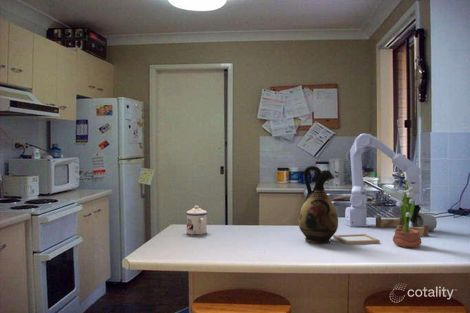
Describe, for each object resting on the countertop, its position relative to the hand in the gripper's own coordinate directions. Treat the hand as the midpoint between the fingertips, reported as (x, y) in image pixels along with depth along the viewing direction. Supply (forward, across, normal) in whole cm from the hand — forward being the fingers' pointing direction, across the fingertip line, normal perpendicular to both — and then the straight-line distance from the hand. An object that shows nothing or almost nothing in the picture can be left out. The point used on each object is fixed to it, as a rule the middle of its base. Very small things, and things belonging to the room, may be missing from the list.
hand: (412, 222), depth 172 cm
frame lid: (+4, -33, -16) cm, 37 cm away
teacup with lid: (+4, -96, +2) cm, 96 cm away
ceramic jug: (+4, -49, -15) cm, 52 cm away
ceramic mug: (+4, +5, +1) cm, 6 cm away
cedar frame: (+4, -6, 0) cm, 7 cm away
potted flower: (+4, -17, -26) cm, 31 cm away
